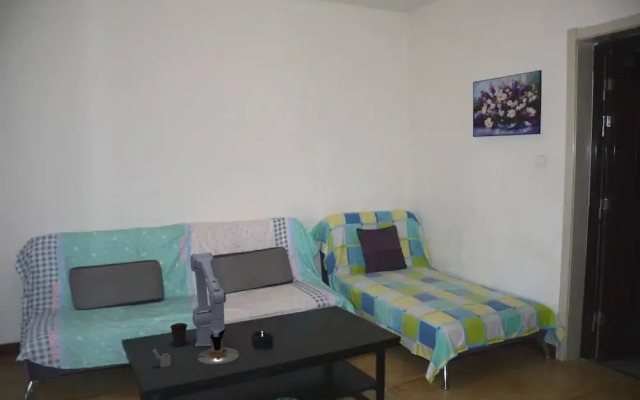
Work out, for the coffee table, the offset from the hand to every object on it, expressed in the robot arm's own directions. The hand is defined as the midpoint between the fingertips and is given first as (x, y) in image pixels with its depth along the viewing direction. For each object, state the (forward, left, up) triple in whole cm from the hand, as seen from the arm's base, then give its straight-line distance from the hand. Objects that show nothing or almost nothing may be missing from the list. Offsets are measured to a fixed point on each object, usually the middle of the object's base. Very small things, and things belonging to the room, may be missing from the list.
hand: (218, 347), depth 230 cm
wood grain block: (0, -1, -3) cm, 3 cm away
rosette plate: (0, 0, -4) cm, 4 cm away
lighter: (+9, -23, -5) cm, 25 cm away
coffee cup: (-18, -21, -5) cm, 28 cm away
